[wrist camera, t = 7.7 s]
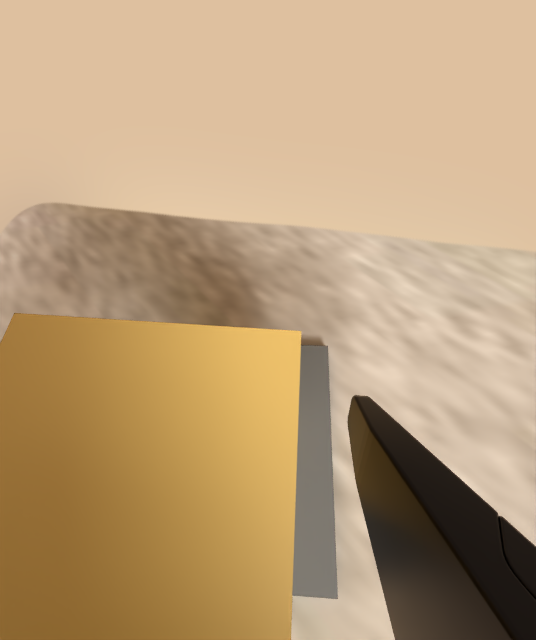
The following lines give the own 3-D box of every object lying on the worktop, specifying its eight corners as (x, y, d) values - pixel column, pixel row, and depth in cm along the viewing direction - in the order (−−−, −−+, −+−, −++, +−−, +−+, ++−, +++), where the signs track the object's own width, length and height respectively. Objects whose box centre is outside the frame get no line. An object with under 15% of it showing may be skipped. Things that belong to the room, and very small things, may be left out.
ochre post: (278, 476, 14) (283, 834, 2) (204, 469, 14) (-189, 748, 2) (282, 398, 15) (301, 331, 3) (215, 393, 15) (14, 312, 4)
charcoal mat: (326, 348, 17) (327, 346, 16) (335, 590, 12) (337, 599, 12) (145, 342, 17) (141, 339, 17) (94, 571, 13) (86, 578, 12)
